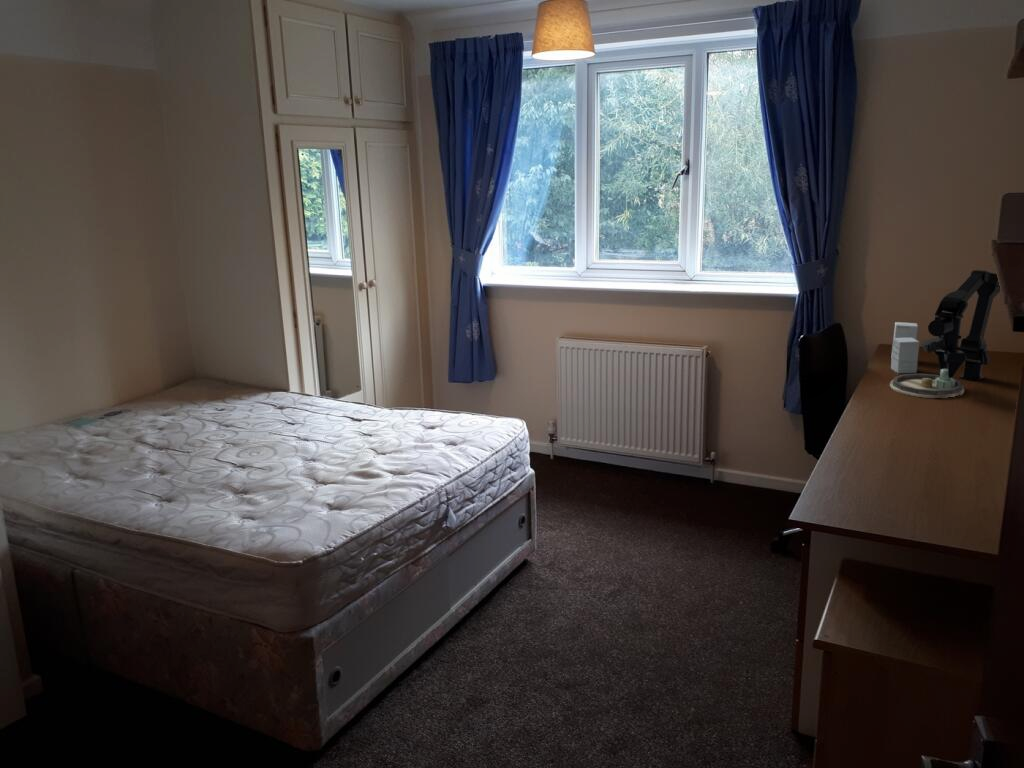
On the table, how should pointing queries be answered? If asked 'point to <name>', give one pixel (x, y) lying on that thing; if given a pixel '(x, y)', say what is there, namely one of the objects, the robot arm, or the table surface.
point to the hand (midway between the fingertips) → (945, 374)
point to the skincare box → (905, 330)
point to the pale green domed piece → (944, 380)
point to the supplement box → (905, 355)
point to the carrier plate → (917, 385)
